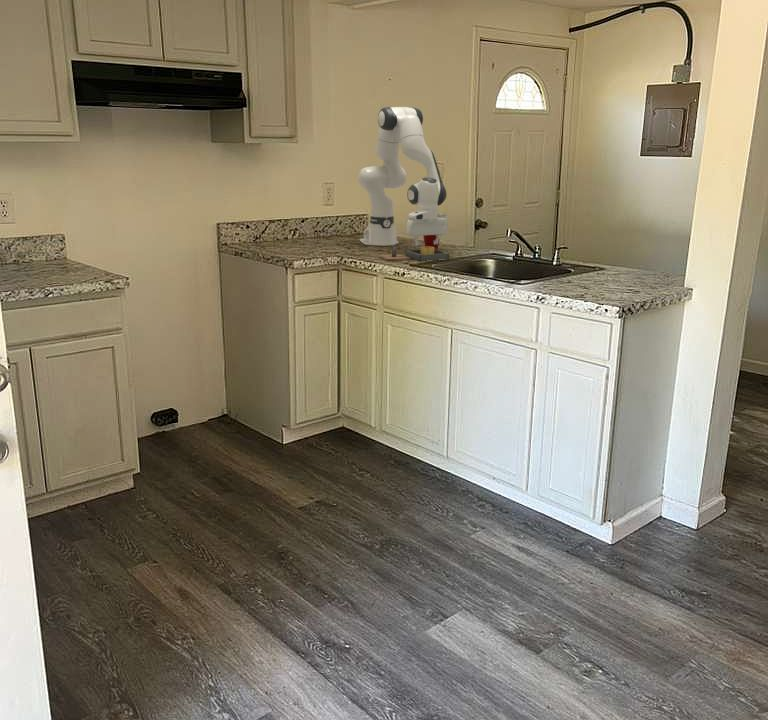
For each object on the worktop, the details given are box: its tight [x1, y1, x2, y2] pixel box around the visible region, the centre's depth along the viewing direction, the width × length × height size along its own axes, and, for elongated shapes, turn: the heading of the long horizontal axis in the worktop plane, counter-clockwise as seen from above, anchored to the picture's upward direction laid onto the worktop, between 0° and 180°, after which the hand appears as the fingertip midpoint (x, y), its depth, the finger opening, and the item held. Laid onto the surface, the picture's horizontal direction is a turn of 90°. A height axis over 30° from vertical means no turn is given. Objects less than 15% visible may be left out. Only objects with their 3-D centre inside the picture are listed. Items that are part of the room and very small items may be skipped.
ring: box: [420, 245, 434, 255], centre depth 351 cm, size 6×6×4 cm
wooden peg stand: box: [377, 244, 411, 262], centre depth 349 cm, size 11×11×6 cm
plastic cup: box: [423, 235, 441, 250], centre depth 371 cm, size 11×11×12 cm
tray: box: [405, 248, 450, 262], centre depth 352 cm, size 15×15×3 cm
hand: (426, 244), depth 351 cm, fingers open, 8 cm apart
